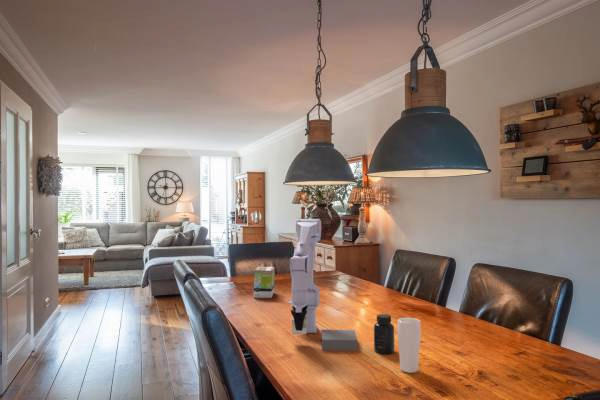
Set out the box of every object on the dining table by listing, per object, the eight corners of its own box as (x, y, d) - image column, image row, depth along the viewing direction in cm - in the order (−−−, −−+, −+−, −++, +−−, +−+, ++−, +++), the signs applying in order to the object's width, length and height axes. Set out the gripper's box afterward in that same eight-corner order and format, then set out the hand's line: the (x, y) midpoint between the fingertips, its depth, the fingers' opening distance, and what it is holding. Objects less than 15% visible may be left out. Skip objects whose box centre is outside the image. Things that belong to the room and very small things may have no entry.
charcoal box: (321, 340, 164) (321, 329, 164) (354, 341, 163) (354, 330, 163) (321, 351, 152) (321, 339, 152) (357, 352, 151) (357, 340, 151)
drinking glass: (416, 366, 137) (416, 317, 137) (423, 374, 130) (423, 323, 130) (394, 366, 137) (395, 317, 137) (400, 374, 130) (400, 323, 130)
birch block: (292, 330, 161) (292, 316, 161) (306, 330, 160) (306, 316, 161) (291, 334, 156) (291, 319, 156) (306, 334, 156) (306, 320, 156)
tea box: (272, 298, 234) (272, 270, 234) (253, 298, 235) (253, 270, 235) (274, 292, 249) (274, 266, 250) (256, 292, 250) (256, 266, 250)
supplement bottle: (380, 346, 156) (380, 312, 156) (397, 350, 151) (398, 315, 151) (370, 351, 150) (370, 316, 150) (388, 356, 146) (388, 319, 146)
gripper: (289, 285, 166) (289, 322, 166) (286, 293, 151) (286, 333, 151) (308, 285, 165) (308, 322, 165) (307, 293, 151) (307, 334, 151)
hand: (299, 327), depth 158 cm, fingers closed on birch block, 5 cm apart
